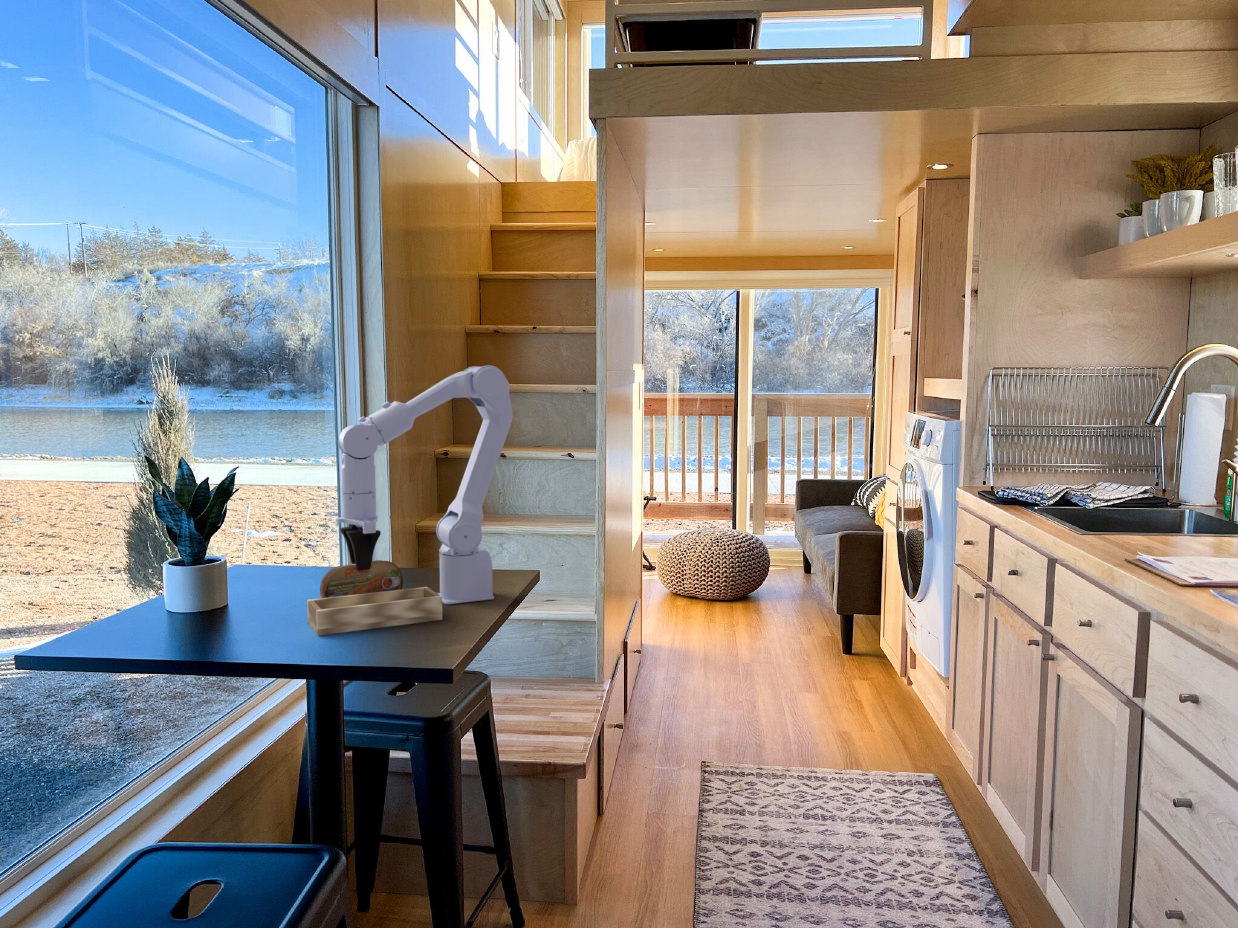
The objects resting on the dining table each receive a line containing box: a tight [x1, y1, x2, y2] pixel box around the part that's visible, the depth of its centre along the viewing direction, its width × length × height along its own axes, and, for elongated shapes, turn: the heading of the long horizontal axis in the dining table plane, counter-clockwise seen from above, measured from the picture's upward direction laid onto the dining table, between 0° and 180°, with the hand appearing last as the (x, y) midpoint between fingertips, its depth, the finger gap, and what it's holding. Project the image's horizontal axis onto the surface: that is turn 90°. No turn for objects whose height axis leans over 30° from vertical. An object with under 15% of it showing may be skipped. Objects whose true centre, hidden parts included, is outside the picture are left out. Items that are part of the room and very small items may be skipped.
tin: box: [319, 559, 404, 598], centre depth 160 cm, size 15×3×8 cm, turn 132°
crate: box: [306, 586, 443, 636], centre depth 152 cm, size 21×9×4 cm, turn 119°
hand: (361, 567), depth 160 cm, fingers open, 3 cm apart
